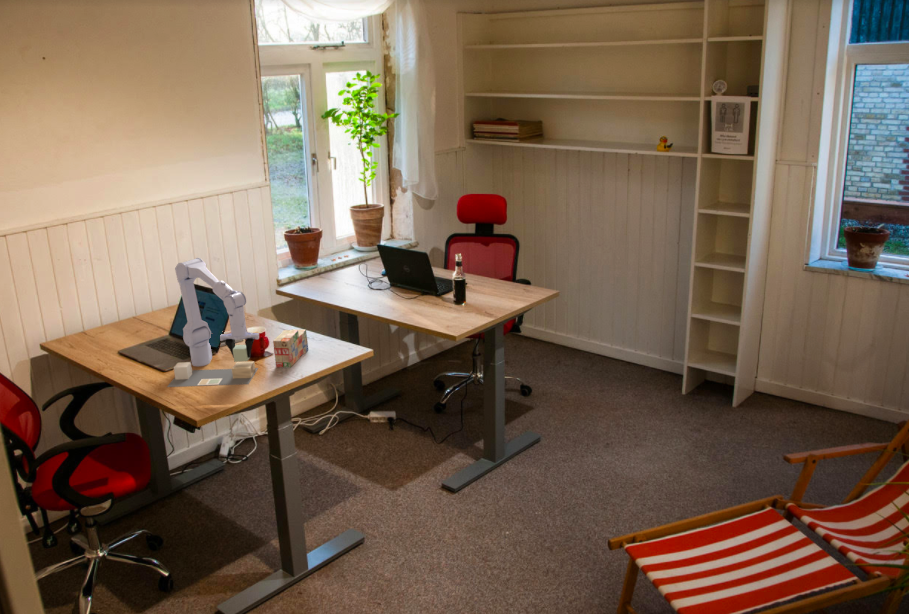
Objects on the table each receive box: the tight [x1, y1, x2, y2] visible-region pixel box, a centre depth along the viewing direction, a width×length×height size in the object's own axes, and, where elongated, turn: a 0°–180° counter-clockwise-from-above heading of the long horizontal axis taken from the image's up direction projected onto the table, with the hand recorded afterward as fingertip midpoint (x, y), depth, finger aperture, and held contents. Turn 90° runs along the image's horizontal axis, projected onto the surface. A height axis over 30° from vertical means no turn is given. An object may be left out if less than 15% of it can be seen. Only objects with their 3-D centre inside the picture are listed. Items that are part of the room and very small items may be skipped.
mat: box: [166, 367, 259, 388], centre depth 301 cm, size 16×31×1 cm, turn 90°
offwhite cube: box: [173, 361, 193, 380], centre depth 302 cm, size 5×5×5 cm
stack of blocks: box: [272, 328, 309, 368], centre depth 317 cm, size 21×6×12 cm, turn 171°
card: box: [196, 378, 222, 387], centre depth 297 cm, size 6×8×1 cm
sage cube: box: [232, 344, 250, 363], centre depth 300 cm, size 5×5×5 cm
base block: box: [231, 361, 256, 379], centre depth 302 cm, size 7×7×4 cm
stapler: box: [219, 329, 244, 348], centre depth 340 cm, size 18×5×10 cm
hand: (242, 356), depth 300 cm, fingers closed on sage cube, 5 cm apart
